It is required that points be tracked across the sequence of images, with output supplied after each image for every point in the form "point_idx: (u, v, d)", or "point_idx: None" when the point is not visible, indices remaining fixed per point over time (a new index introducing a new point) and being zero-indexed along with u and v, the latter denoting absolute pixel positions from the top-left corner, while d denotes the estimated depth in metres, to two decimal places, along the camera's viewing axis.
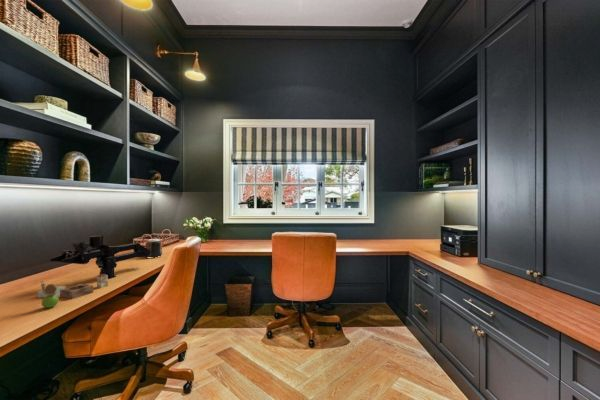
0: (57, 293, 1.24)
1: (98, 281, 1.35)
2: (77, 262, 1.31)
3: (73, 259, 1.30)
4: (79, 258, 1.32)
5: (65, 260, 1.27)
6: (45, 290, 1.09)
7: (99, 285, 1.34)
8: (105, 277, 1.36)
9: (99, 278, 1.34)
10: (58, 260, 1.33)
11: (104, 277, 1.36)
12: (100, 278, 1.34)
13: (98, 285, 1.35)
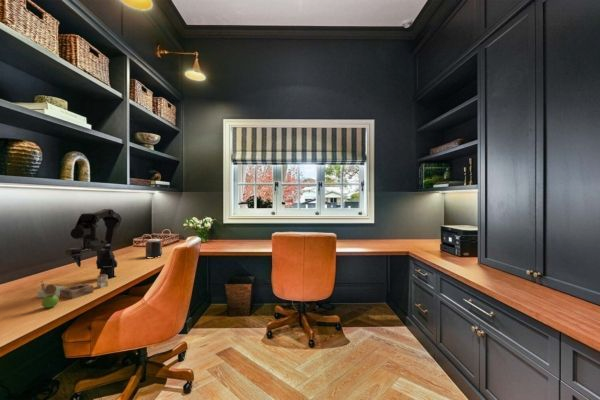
0: (57, 293, 1.24)
1: (98, 281, 1.35)
2: None
3: None
4: None
5: None
6: (45, 290, 1.09)
7: (99, 285, 1.34)
8: (105, 277, 1.36)
9: (99, 278, 1.34)
10: None
11: (104, 277, 1.36)
12: (100, 278, 1.34)
13: (98, 285, 1.35)
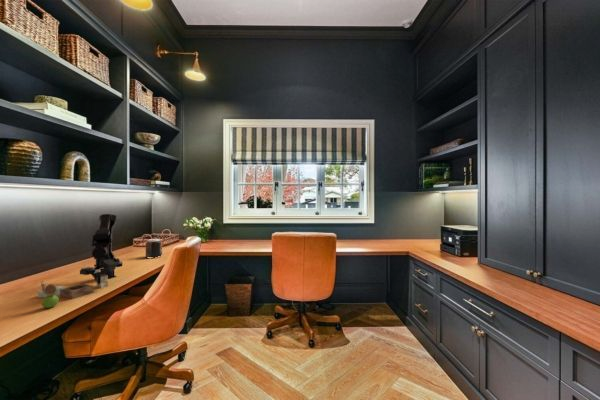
0: (57, 293, 1.24)
1: None
2: None
3: None
4: None
5: None
6: (45, 290, 1.09)
7: (99, 285, 1.34)
8: (105, 277, 1.36)
9: None
10: None
11: (104, 277, 1.36)
12: (100, 278, 1.34)
13: (98, 285, 1.35)
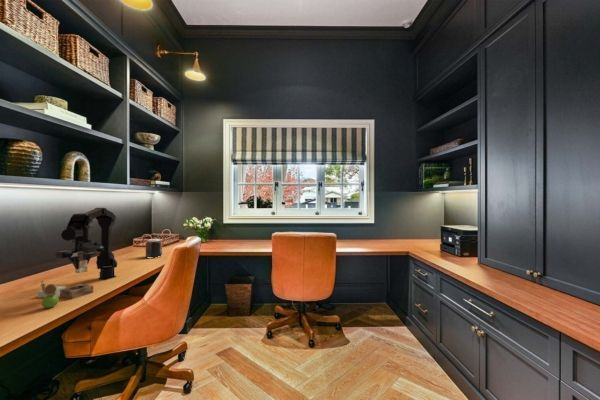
0: (57, 293, 1.24)
1: None
2: None
3: None
4: None
5: None
6: (45, 290, 1.09)
7: (78, 270, 1.25)
8: (84, 262, 1.26)
9: (78, 263, 1.25)
10: None
11: (83, 262, 1.26)
12: (79, 263, 1.24)
13: (76, 270, 1.25)
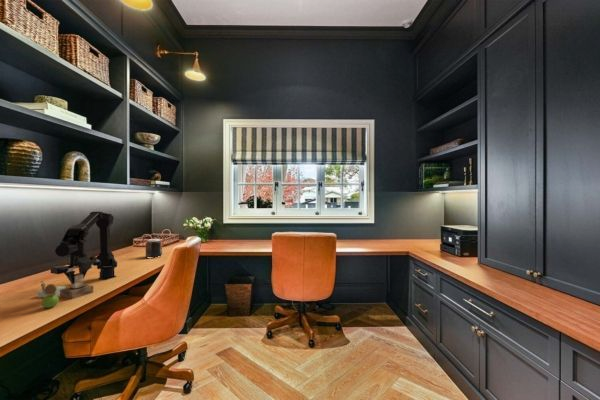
0: (57, 293, 1.24)
1: None
2: None
3: None
4: None
5: None
6: (45, 290, 1.09)
7: (73, 285, 1.23)
8: (80, 276, 1.25)
9: None
10: None
11: (79, 276, 1.24)
12: (74, 277, 1.23)
13: (72, 285, 1.23)
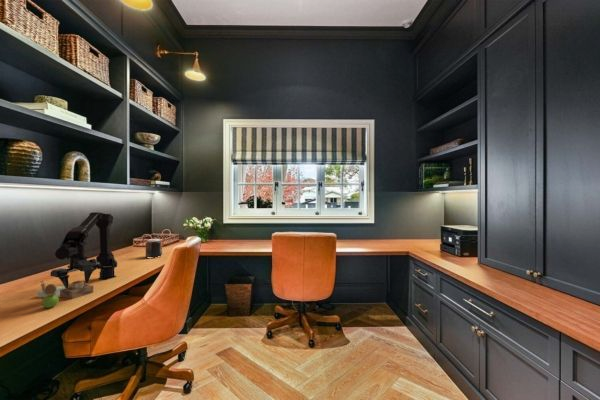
0: (57, 293, 1.24)
1: (72, 288, 1.23)
2: None
3: None
4: None
5: None
6: (45, 290, 1.09)
7: None
8: (80, 284, 1.25)
9: (73, 285, 1.23)
10: None
11: (79, 284, 1.24)
12: (74, 285, 1.23)
13: None
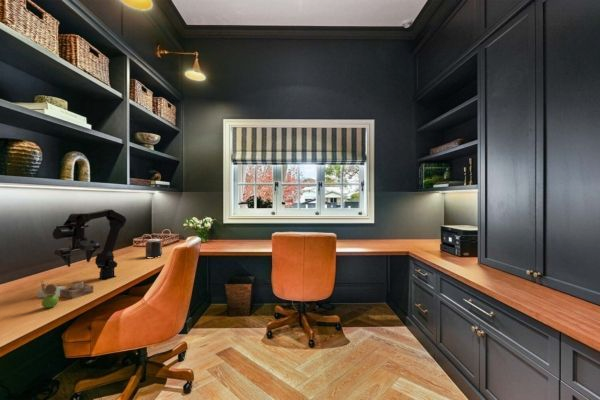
0: (57, 293, 1.24)
1: (72, 288, 1.23)
2: None
3: None
4: None
5: None
6: (45, 290, 1.09)
7: None
8: (80, 284, 1.25)
9: (73, 285, 1.23)
10: None
11: (79, 284, 1.24)
12: (74, 285, 1.23)
13: None
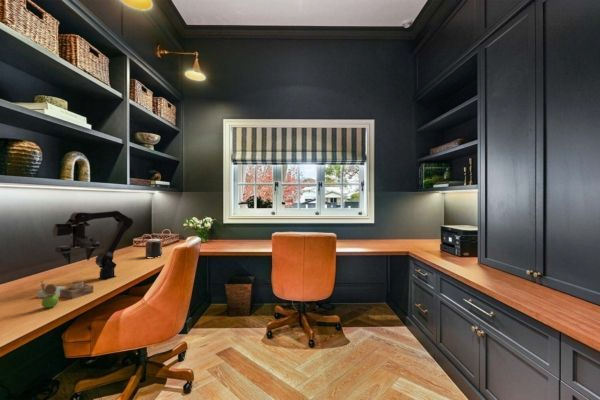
0: (57, 293, 1.24)
1: (72, 288, 1.23)
2: None
3: None
4: None
5: None
6: (45, 290, 1.09)
7: None
8: (80, 284, 1.25)
9: (73, 285, 1.23)
10: None
11: (79, 284, 1.24)
12: (74, 285, 1.23)
13: None
